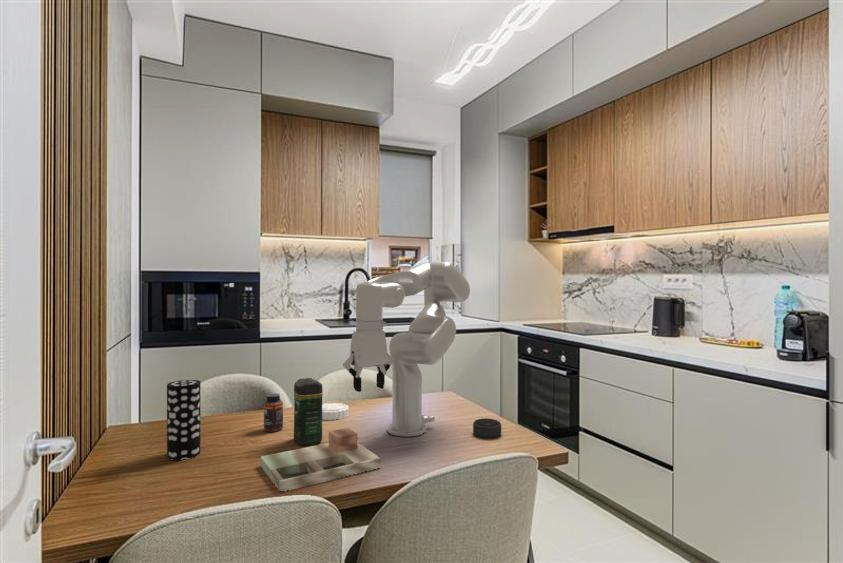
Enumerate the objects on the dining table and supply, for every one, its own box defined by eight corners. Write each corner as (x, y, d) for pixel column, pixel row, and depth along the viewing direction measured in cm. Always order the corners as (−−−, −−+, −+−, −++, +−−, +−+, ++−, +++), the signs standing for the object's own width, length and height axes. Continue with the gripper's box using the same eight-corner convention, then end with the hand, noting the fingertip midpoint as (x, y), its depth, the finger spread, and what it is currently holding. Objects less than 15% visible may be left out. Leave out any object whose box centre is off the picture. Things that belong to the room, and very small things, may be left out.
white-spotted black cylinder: (166, 463, 125) (166, 387, 125) (167, 452, 133) (167, 381, 132) (201, 457, 129) (201, 384, 129) (199, 447, 136) (199, 378, 136)
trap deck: (352, 447, 138) (352, 438, 138) (380, 468, 122) (380, 458, 122) (260, 465, 124) (260, 456, 123) (280, 492, 108) (280, 481, 108)
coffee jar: (325, 443, 140) (325, 381, 140) (298, 448, 137) (299, 384, 136) (316, 434, 149) (316, 375, 149) (291, 437, 145) (291, 377, 145)
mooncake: (308, 419, 165) (308, 409, 165) (323, 410, 176) (323, 400, 176) (340, 422, 162) (340, 411, 162) (353, 412, 174) (353, 402, 174)
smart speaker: (474, 439, 145) (475, 426, 145) (471, 430, 154) (471, 417, 154) (503, 439, 145) (503, 426, 145) (498, 429, 154) (498, 417, 154)
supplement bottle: (286, 427, 156) (286, 392, 156) (278, 432, 150) (278, 397, 150) (268, 426, 156) (268, 392, 156) (260, 432, 150) (260, 396, 150)
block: (348, 441, 135) (348, 427, 135) (357, 448, 130) (357, 433, 130) (328, 445, 132) (328, 431, 131) (336, 452, 126) (337, 437, 126)
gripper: (389, 323, 142) (389, 383, 143) (335, 326, 133) (335, 390, 133) (402, 326, 136) (401, 388, 136) (346, 329, 127) (346, 396, 127)
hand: (369, 388), depth 135 cm, fingers open, 6 cm apart
